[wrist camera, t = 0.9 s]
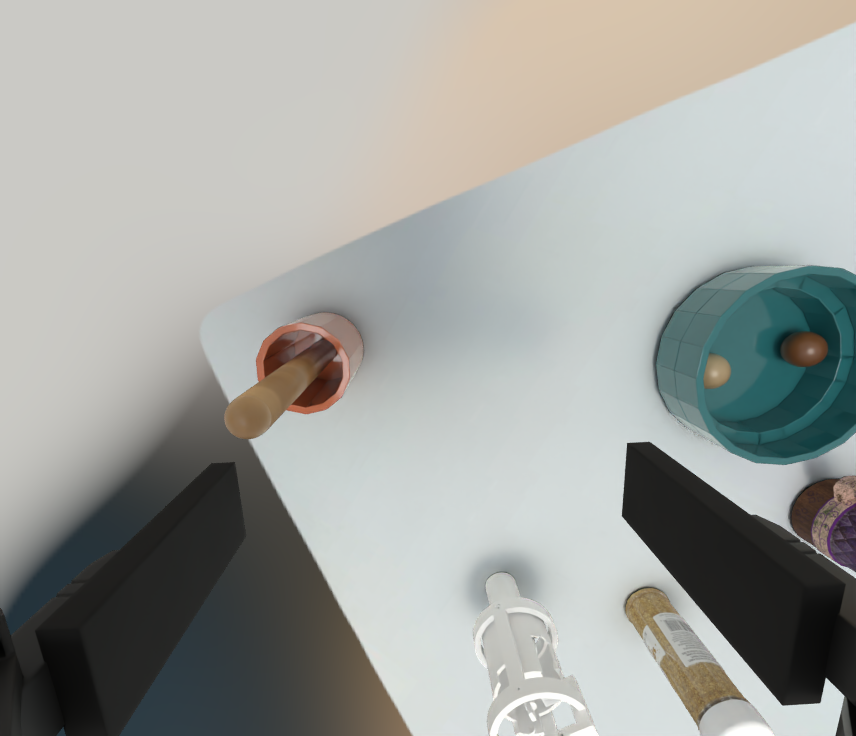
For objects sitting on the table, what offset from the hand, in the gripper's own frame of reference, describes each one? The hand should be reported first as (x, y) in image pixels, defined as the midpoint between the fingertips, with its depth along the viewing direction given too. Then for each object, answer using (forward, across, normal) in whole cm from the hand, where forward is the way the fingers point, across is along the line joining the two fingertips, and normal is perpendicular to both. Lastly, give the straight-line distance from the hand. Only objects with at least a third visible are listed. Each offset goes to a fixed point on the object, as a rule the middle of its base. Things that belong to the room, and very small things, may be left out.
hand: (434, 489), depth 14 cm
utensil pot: (+23, -8, +1) cm, 24 cm away
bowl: (+23, +28, -1) cm, 36 cm away
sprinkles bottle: (+23, +22, -27) cm, 42 cm away
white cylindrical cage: (+23, +7, -24) cm, 34 cm away
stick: (+22, -8, +1) cm, 24 cm away
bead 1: (+21, +24, -2) cm, 32 cm away
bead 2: (+21, +32, 0) cm, 38 cm away
